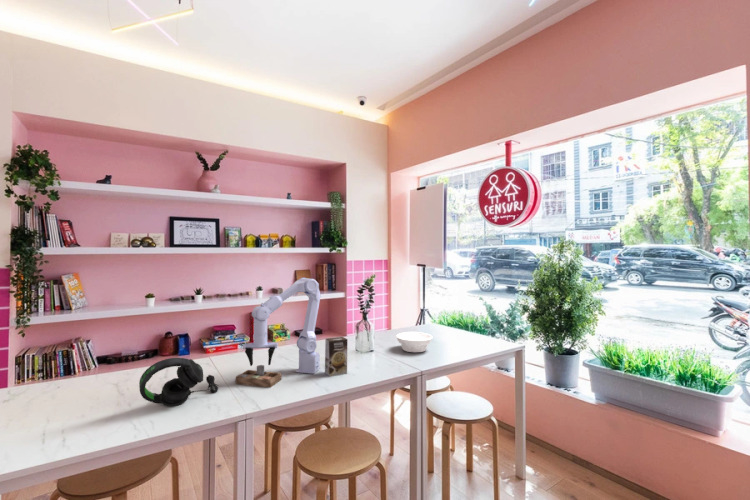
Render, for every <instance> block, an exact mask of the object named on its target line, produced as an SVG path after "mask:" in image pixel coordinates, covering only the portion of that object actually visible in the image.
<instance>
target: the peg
mask: <svg viewBox="0 0 750 500" xmlns="http://www.w3.org/2000/svg"><path fill="white" fill-rule="evenodd" d="M256 371H257V376H263V375H264V371H265V365H264V364H260V365H259V364H258V365H257V366H256Z"/></svg>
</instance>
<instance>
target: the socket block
mask: <svg viewBox="0 0 750 500" xmlns="http://www.w3.org/2000/svg"><path fill="white" fill-rule="evenodd" d="M281 380H282V373H281V372H273V371H265V370H264V375H263V376H257V370H255V369H254V370H252V369H247V370H245V371H244V372H242V373H240V374H238V375H236V376H235V385H242V386H244V385H245V386H253V387H264V388H272V387H273V386H275V385H276V384H278V383H279V382H281Z"/></svg>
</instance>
